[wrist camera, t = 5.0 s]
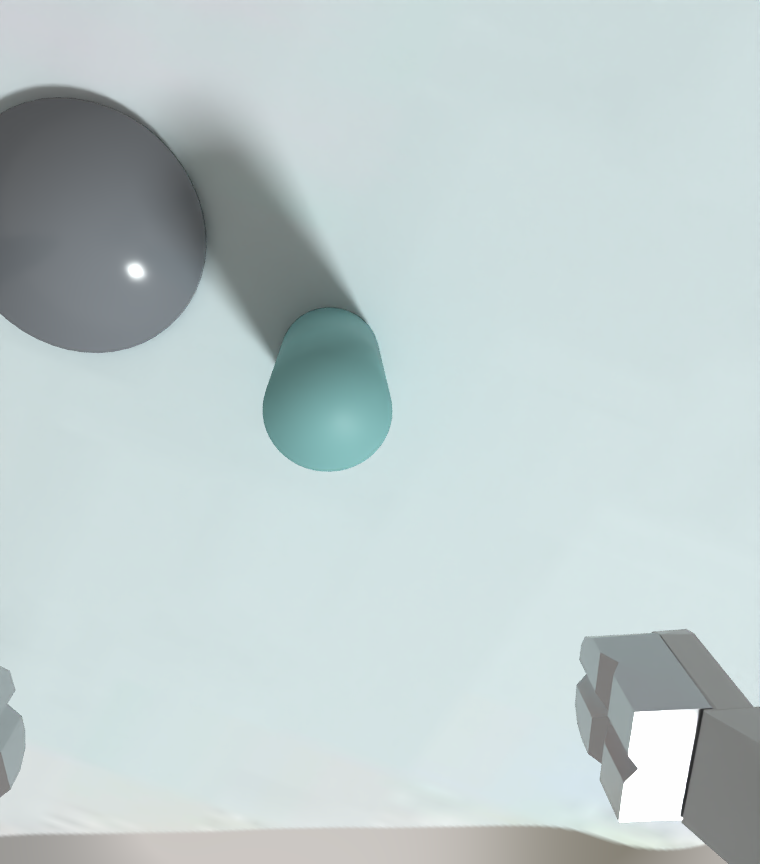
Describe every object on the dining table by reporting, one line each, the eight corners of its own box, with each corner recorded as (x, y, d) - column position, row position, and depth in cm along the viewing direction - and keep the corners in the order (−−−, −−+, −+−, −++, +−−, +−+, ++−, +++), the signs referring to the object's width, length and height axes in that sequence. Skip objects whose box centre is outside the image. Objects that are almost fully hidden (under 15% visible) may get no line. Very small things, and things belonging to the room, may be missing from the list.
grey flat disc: (192, 98, 24) (190, 96, 24) (217, 347, 27) (215, 349, 27) (-70, 100, 24) (-77, 98, 23) (-14, 353, 27) (-20, 355, 26)
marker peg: (378, 306, 27) (391, 347, 20) (380, 402, 28) (392, 469, 22) (277, 308, 27) (258, 350, 20) (283, 405, 28) (267, 473, 22)
